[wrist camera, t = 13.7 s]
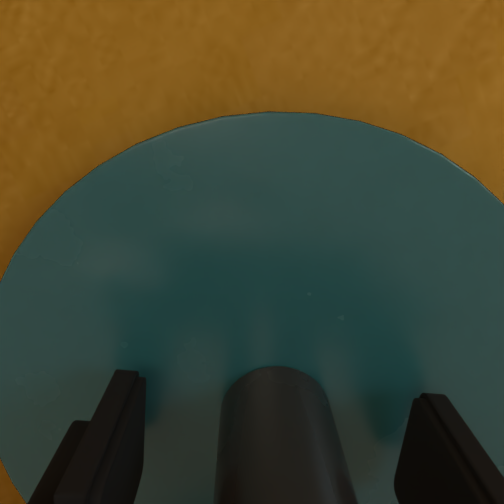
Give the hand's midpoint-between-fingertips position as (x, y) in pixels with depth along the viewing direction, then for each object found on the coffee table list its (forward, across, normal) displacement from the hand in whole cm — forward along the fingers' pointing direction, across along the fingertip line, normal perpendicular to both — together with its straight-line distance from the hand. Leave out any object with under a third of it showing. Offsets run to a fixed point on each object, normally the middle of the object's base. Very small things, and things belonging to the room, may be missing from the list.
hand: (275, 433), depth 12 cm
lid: (+1, 0, 0) cm, 1 cm away
